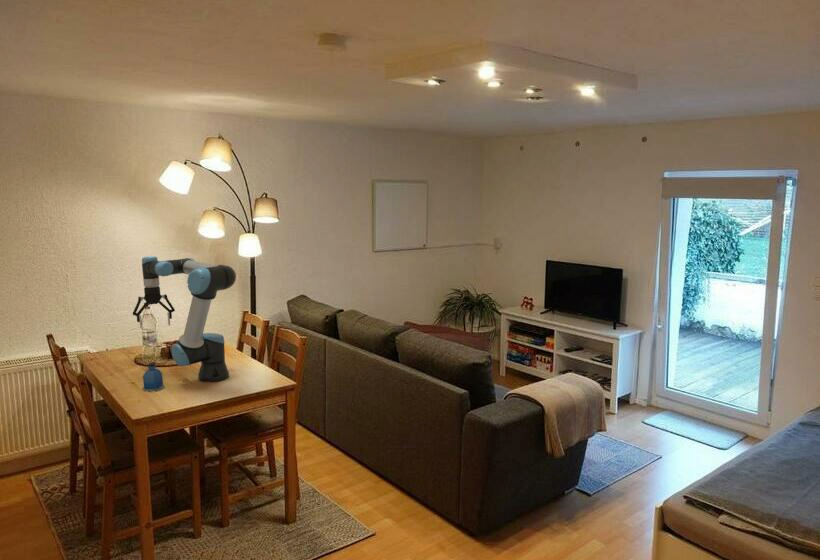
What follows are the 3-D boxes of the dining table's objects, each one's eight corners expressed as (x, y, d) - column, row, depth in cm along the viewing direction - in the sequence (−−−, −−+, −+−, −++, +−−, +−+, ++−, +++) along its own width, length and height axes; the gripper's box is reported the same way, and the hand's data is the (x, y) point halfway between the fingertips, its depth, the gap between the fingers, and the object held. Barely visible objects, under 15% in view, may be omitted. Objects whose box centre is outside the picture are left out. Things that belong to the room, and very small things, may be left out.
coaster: (169, 386, 291) (169, 385, 291) (154, 393, 282) (154, 391, 282) (152, 383, 295) (152, 382, 294) (137, 390, 285) (137, 389, 285)
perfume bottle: (155, 389, 285) (153, 365, 283) (143, 388, 286) (142, 365, 284) (163, 385, 291) (161, 361, 289) (151, 384, 292) (149, 361, 290)
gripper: (176, 283, 314) (180, 322, 316) (125, 287, 303) (128, 328, 306) (178, 285, 307) (181, 325, 310) (125, 289, 296) (129, 330, 299)
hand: (155, 326), depth 308 cm, fingers open, 13 cm apart
